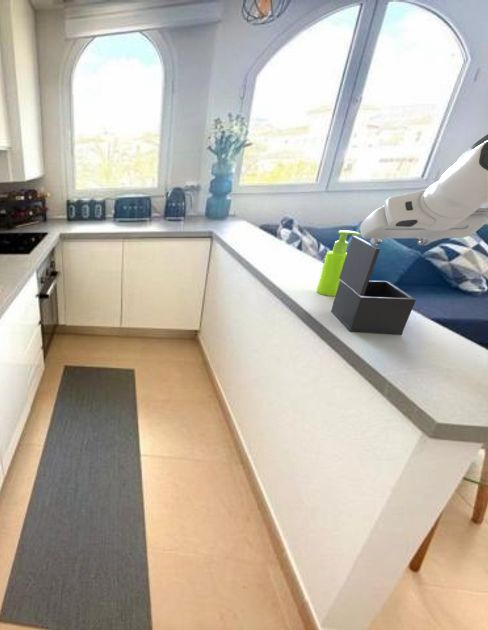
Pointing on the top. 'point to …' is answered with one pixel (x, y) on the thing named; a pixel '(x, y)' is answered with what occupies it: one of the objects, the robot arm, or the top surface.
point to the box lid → (359, 264)
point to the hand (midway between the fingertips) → (397, 242)
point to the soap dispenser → (334, 265)
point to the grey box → (373, 308)
